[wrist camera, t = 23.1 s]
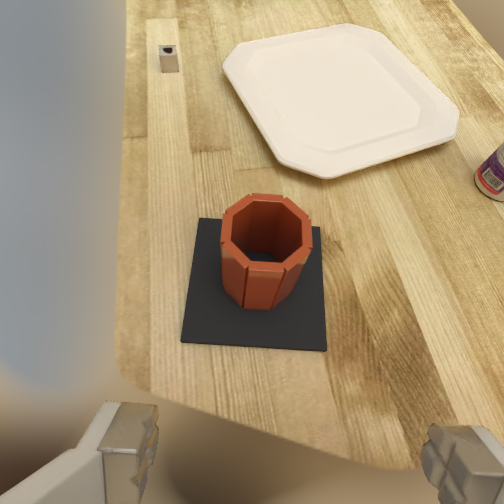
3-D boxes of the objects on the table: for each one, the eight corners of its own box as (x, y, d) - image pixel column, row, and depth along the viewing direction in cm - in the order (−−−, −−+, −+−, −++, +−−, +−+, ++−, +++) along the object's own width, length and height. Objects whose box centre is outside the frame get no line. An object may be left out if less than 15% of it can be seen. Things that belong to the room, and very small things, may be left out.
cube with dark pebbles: (177, 62, 44) (175, 42, 41) (178, 71, 43) (176, 52, 40) (161, 62, 43) (158, 43, 41) (162, 72, 42) (158, 53, 40)
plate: (469, 142, 40) (482, 128, 38) (292, 200, 34) (296, 187, 32) (362, 33, 50) (368, 17, 48) (211, 63, 44) (210, 46, 42)
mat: (325, 351, 27) (327, 350, 26) (181, 342, 26) (180, 341, 26) (318, 229, 32) (320, 226, 32) (199, 220, 32) (199, 217, 31)
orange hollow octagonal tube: (292, 311, 28) (314, 274, 20) (220, 307, 27) (217, 268, 20) (291, 248, 30) (309, 196, 23) (226, 244, 30) (225, 190, 23)
